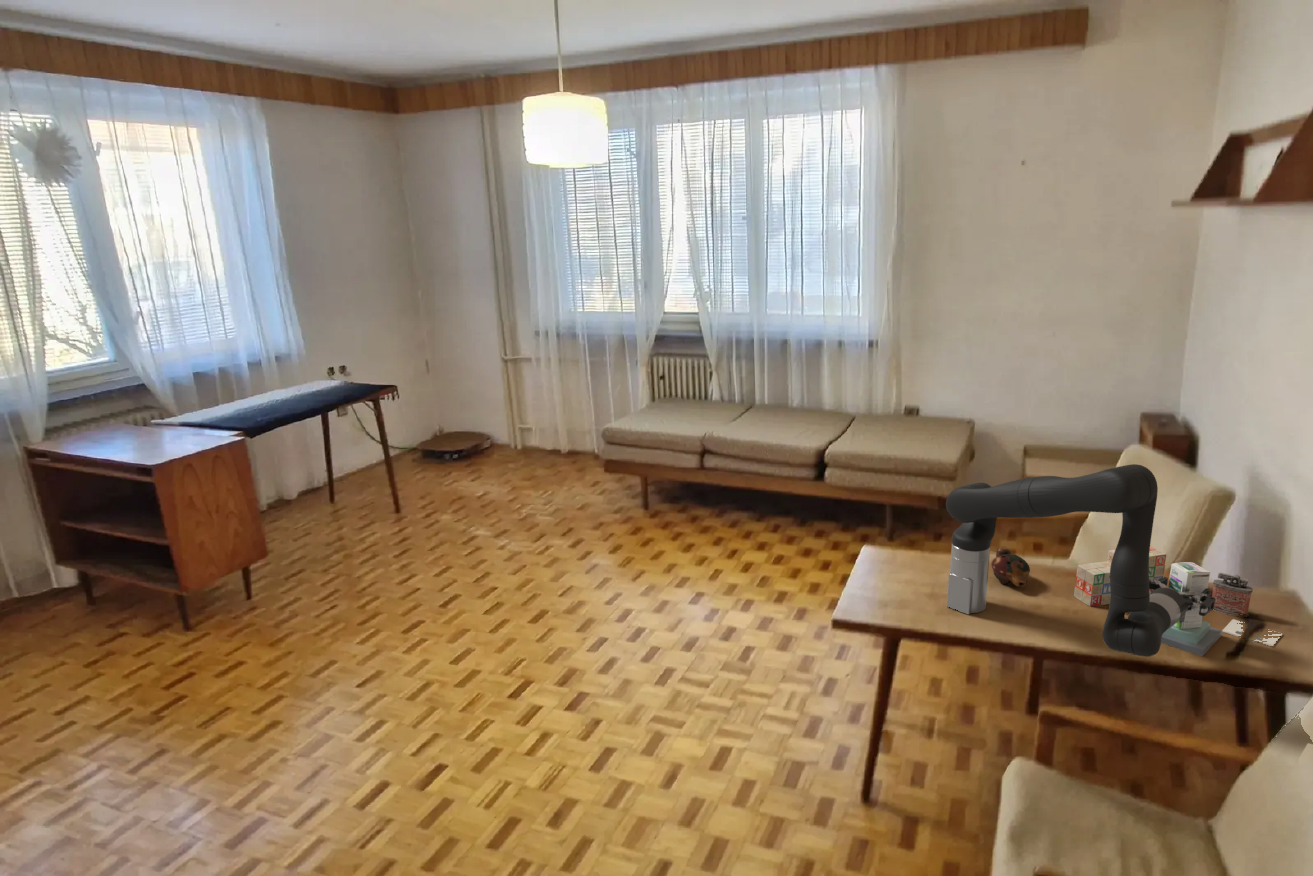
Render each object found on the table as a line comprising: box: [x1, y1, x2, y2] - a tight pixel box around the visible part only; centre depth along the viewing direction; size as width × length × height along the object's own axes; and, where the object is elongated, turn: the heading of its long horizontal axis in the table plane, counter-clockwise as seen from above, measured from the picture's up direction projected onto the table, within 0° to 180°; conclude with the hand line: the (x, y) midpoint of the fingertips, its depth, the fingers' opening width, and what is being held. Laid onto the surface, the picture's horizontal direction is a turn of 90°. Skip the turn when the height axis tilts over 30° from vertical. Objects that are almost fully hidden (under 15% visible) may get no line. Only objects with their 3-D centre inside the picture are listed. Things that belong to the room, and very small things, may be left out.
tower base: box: [1161, 619, 1223, 657], centre depth 192 cm, size 13×13×4 cm
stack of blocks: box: [1073, 546, 1167, 607], centre depth 211 cm, size 21×6×12 cm, turn 102°
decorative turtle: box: [991, 546, 1031, 588], centre depth 223 cm, size 10×15×8 cm, turn 5°
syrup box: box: [1167, 561, 1211, 629], centre depth 190 cm, size 6×6×14 cm
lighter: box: [1211, 572, 1254, 615], centre depth 201 cm, size 8×3×10 cm, turn 47°
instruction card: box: [1222, 618, 1283, 647], centre depth 193 cm, size 8×10×1 cm
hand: (1186, 586), depth 189 cm, fingers open, 8 cm apart
